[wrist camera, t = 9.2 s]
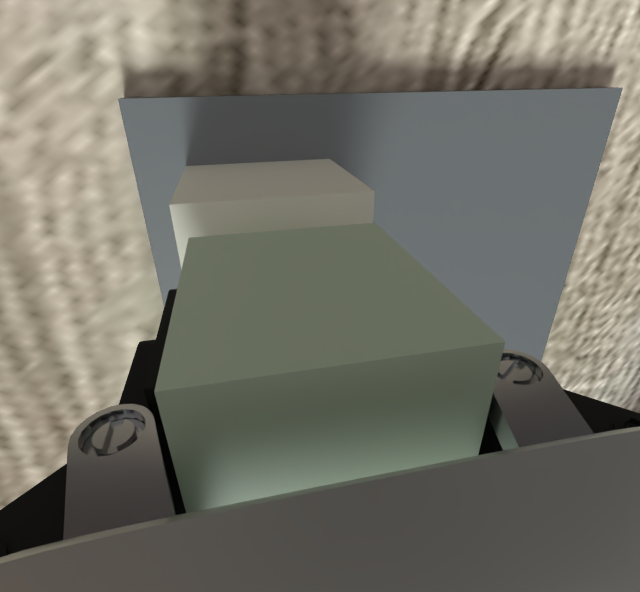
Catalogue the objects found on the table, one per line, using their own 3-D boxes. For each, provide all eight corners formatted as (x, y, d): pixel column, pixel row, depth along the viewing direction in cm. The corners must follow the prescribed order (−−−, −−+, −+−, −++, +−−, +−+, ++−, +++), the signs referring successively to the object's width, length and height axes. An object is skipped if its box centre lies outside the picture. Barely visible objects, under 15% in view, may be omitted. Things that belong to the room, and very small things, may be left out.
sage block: (374, 222, 11) (505, 341, 6) (367, 367, 14) (457, 542, 8) (188, 237, 10) (154, 392, 5) (214, 389, 13) (209, 601, 8)
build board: (605, 87, 20) (774, 90, 14) (526, 367, 28) (611, 447, 22) (123, 97, 16) (62, 107, 10) (193, 420, 24) (183, 535, 18)
